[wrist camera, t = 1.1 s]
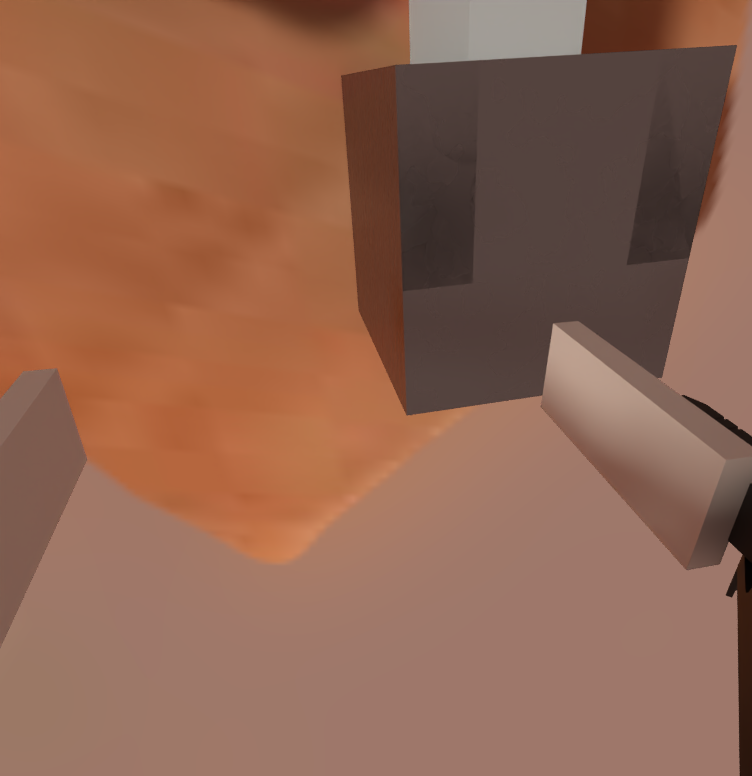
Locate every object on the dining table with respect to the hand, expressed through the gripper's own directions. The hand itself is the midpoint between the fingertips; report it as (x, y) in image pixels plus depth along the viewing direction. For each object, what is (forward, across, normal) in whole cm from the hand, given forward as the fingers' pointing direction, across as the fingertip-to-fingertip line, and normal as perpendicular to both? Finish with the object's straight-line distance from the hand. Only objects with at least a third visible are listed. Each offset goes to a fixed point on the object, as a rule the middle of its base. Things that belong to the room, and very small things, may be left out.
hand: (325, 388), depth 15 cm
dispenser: (+22, +10, +1) cm, 24 cm away
